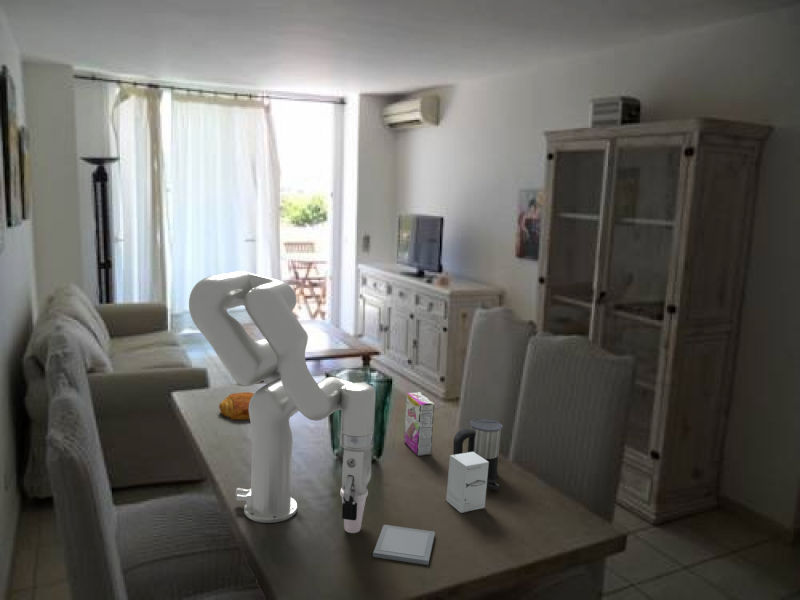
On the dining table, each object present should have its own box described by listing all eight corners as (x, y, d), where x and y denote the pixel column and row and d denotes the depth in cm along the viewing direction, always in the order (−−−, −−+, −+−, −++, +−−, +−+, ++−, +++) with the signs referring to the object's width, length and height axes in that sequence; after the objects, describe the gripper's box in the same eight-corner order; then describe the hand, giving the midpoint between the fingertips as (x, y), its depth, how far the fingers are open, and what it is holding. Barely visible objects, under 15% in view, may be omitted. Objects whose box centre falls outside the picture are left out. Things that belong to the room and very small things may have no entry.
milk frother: (482, 464, 187) (486, 416, 185) (522, 485, 175) (527, 434, 172) (445, 474, 179) (449, 424, 176) (485, 497, 166) (489, 444, 164)
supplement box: (461, 514, 157) (464, 466, 155) (445, 500, 163) (448, 454, 161) (485, 508, 160) (489, 461, 158) (469, 495, 167) (473, 450, 165)
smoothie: (362, 538, 143) (365, 480, 141) (334, 533, 145) (337, 476, 142) (369, 524, 150) (372, 468, 147) (343, 519, 151) (345, 464, 148)
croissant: (220, 413, 222) (217, 392, 220) (265, 405, 226) (262, 384, 224) (221, 427, 208) (218, 404, 207) (269, 419, 212) (266, 396, 211)
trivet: (372, 556, 136) (373, 552, 136) (383, 528, 148) (383, 524, 148) (428, 565, 134) (428, 560, 134) (434, 535, 146) (434, 531, 146)
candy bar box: (402, 442, 200) (405, 392, 197) (417, 440, 202) (420, 391, 199) (416, 456, 190) (420, 404, 187) (431, 455, 191) (435, 403, 189)
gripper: (364, 455, 134) (361, 530, 137) (380, 426, 151) (377, 493, 154) (330, 451, 136) (328, 525, 138) (350, 423, 152) (347, 490, 155)
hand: (354, 508), depth 146 cm, fingers open, 9 cm apart
